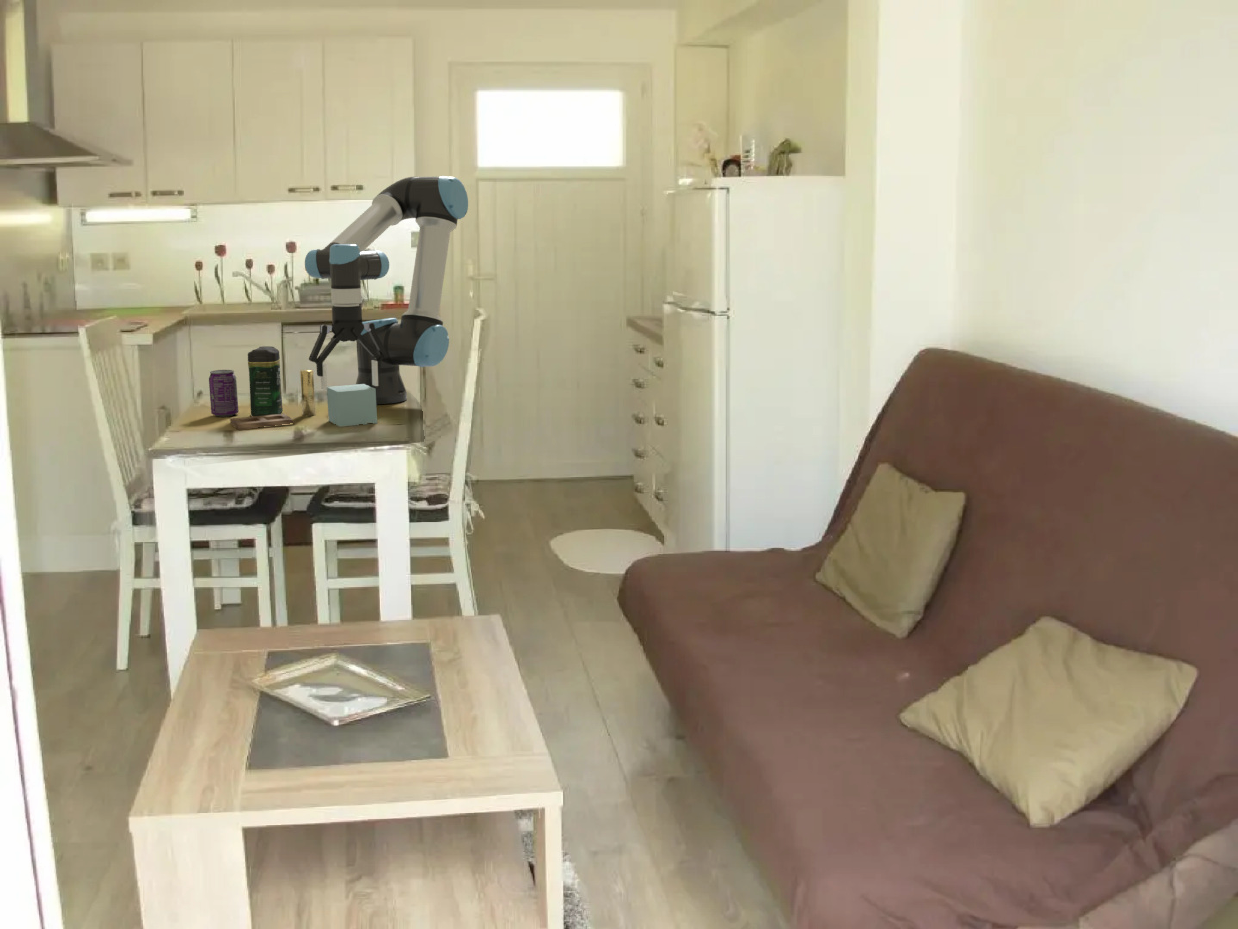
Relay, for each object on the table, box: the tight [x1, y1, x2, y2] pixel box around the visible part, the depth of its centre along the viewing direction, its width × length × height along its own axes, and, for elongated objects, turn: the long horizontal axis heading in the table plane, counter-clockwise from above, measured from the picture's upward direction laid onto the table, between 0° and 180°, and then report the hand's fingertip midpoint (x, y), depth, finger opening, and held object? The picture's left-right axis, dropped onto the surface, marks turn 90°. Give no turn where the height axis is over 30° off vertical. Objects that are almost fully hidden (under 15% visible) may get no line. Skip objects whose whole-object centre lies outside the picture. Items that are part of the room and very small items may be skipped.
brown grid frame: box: [229, 413, 295, 430], centre depth 357 cm, size 14×10×1 cm
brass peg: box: [299, 369, 316, 417], centre depth 370 cm, size 3×3×12 cm
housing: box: [326, 383, 378, 427], centre depth 358 cm, size 10×10×9 cm
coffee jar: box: [247, 345, 284, 417], centre depth 369 cm, size 10×8×19 cm
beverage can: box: [208, 369, 239, 418], centre depth 370 cm, size 7×7×12 cm
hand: (349, 387), depth 357 cm, fingers open, 13 cm apart
